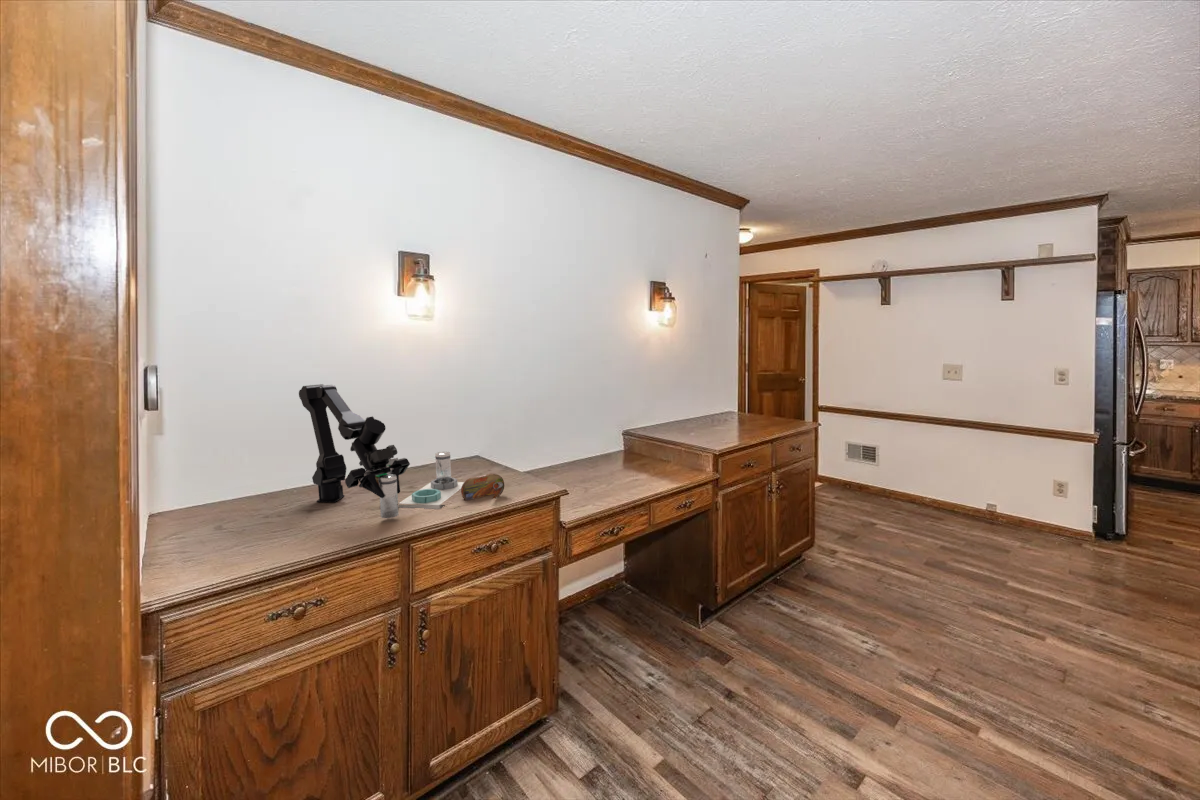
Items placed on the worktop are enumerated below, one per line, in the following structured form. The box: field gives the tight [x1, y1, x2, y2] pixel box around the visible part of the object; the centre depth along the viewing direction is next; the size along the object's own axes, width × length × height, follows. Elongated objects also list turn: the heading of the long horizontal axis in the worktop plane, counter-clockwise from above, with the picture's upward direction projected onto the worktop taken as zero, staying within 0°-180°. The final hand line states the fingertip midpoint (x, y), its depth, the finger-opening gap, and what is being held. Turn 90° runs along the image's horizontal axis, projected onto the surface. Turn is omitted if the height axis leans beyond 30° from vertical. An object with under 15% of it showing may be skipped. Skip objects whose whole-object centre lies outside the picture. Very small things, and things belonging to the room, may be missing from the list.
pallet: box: [398, 476, 465, 510], centre depth 183 cm, size 14×25×4 cm, turn 173°
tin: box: [460, 473, 505, 501], centre depth 179 cm, size 15×3×8 cm, turn 129°
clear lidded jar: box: [435, 451, 452, 484], centre depth 189 cm, size 5×5×12 cm
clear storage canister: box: [378, 474, 399, 519], centre depth 160 cm, size 5×5×12 cm
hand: (391, 494), depth 159 cm, fingers closed on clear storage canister, 5 cm apart
